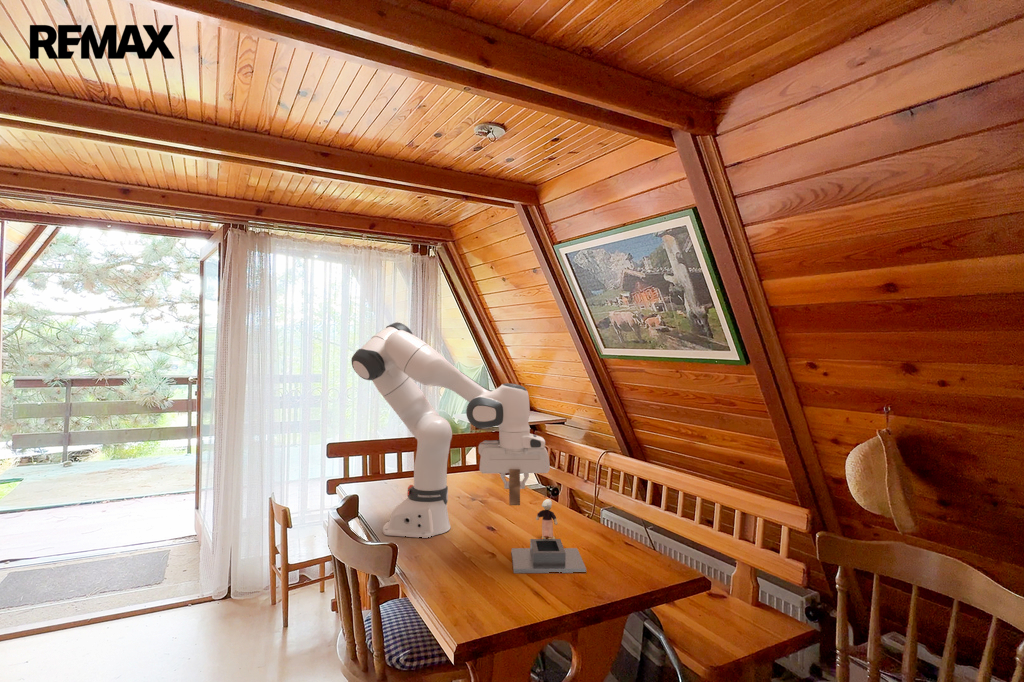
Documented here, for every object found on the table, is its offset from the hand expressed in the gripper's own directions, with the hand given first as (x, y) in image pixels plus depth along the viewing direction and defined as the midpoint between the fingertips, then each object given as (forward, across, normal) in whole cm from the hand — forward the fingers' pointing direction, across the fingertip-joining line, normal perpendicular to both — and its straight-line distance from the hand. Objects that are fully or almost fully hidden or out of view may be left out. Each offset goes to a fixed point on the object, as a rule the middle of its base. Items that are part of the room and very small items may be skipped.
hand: (514, 488), depth 154 cm
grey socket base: (+22, +9, +1) cm, 24 cm away
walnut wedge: (+4, 0, 0) cm, 4 cm away
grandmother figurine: (+22, +11, +20) cm, 32 cm away
